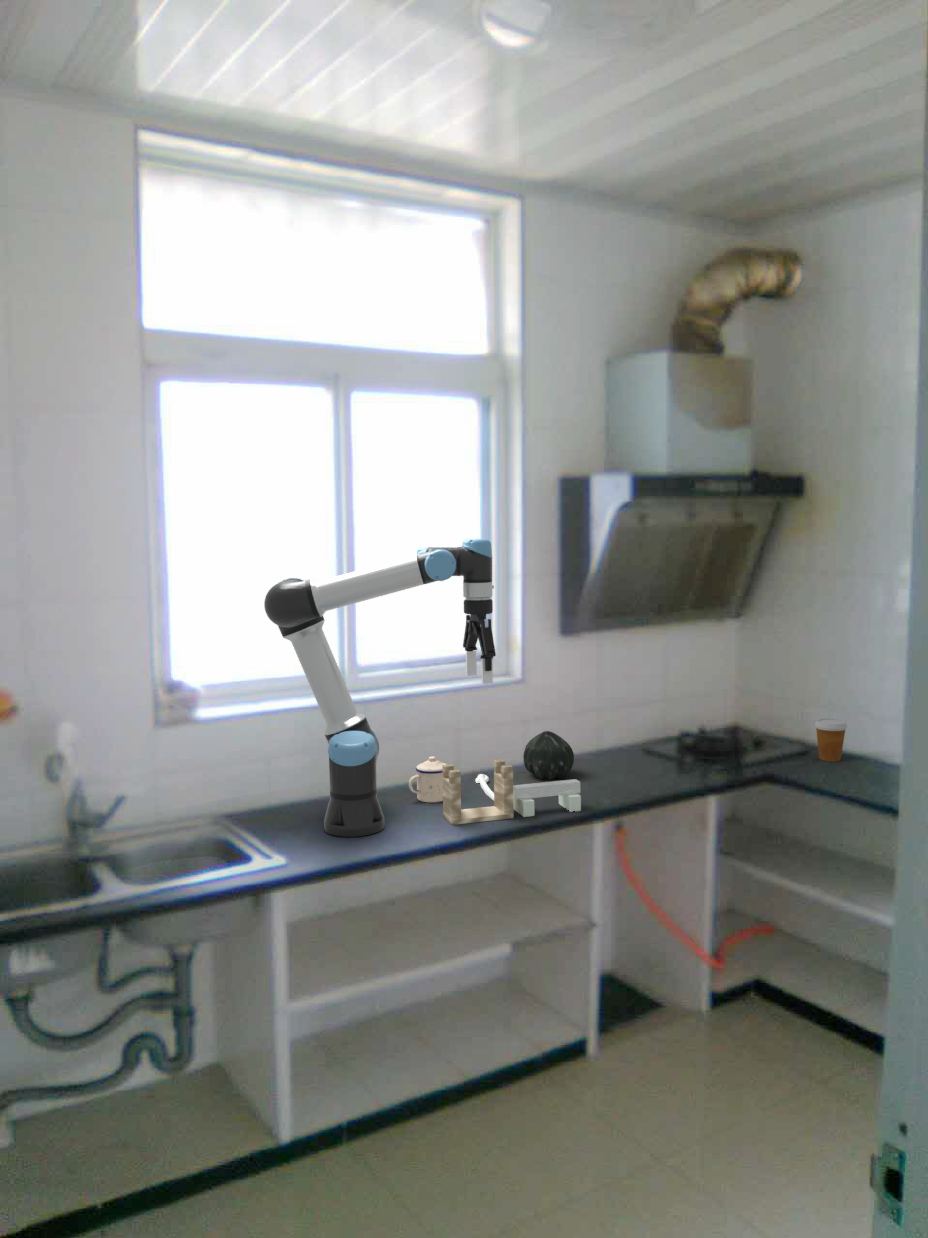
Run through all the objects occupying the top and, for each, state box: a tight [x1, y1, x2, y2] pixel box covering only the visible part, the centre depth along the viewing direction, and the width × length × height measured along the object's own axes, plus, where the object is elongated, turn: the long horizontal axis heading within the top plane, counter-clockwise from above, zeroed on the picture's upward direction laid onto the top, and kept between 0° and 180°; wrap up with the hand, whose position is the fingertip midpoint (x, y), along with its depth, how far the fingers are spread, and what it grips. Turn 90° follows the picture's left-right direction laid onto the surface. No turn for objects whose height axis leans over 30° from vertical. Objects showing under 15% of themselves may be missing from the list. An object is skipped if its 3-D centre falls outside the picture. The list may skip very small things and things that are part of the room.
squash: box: [523, 730, 575, 780], centre depth 294 cm, size 14×15×15 cm
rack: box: [442, 759, 514, 826], centre depth 255 cm, size 16×8×14 cm, turn 107°
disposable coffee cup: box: [814, 718, 848, 762], centre depth 309 cm, size 10×10×12 cm
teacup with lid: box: [408, 756, 448, 803], centre depth 272 cm, size 12×9×12 cm
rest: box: [513, 793, 582, 818], centre depth 261 cm, size 16×8×4 cm, turn 107°
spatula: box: [474, 773, 494, 802], centre depth 277 cm, size 28×4×3 cm, turn 13°
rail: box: [513, 778, 581, 800], centre depth 261 cm, size 18×3×3 cm, turn 107°
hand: (479, 679), depth 260 cm, fingers open, 13 cm apart
